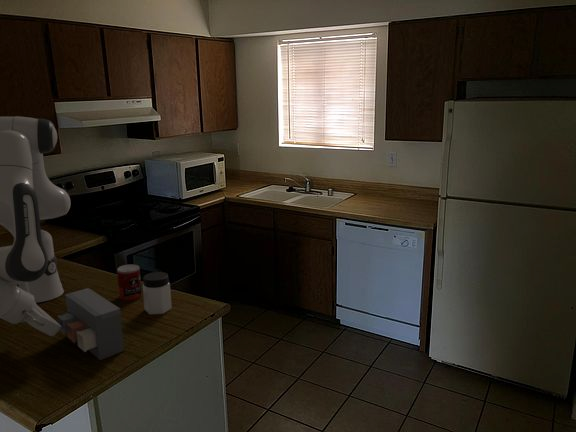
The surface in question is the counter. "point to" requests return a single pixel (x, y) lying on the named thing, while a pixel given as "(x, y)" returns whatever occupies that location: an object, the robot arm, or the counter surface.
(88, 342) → the ivory key
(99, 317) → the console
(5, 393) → the counter surface
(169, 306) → the jar
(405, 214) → the counter surface
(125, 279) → the canned food
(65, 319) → the blue-grey key
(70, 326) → the brick key
